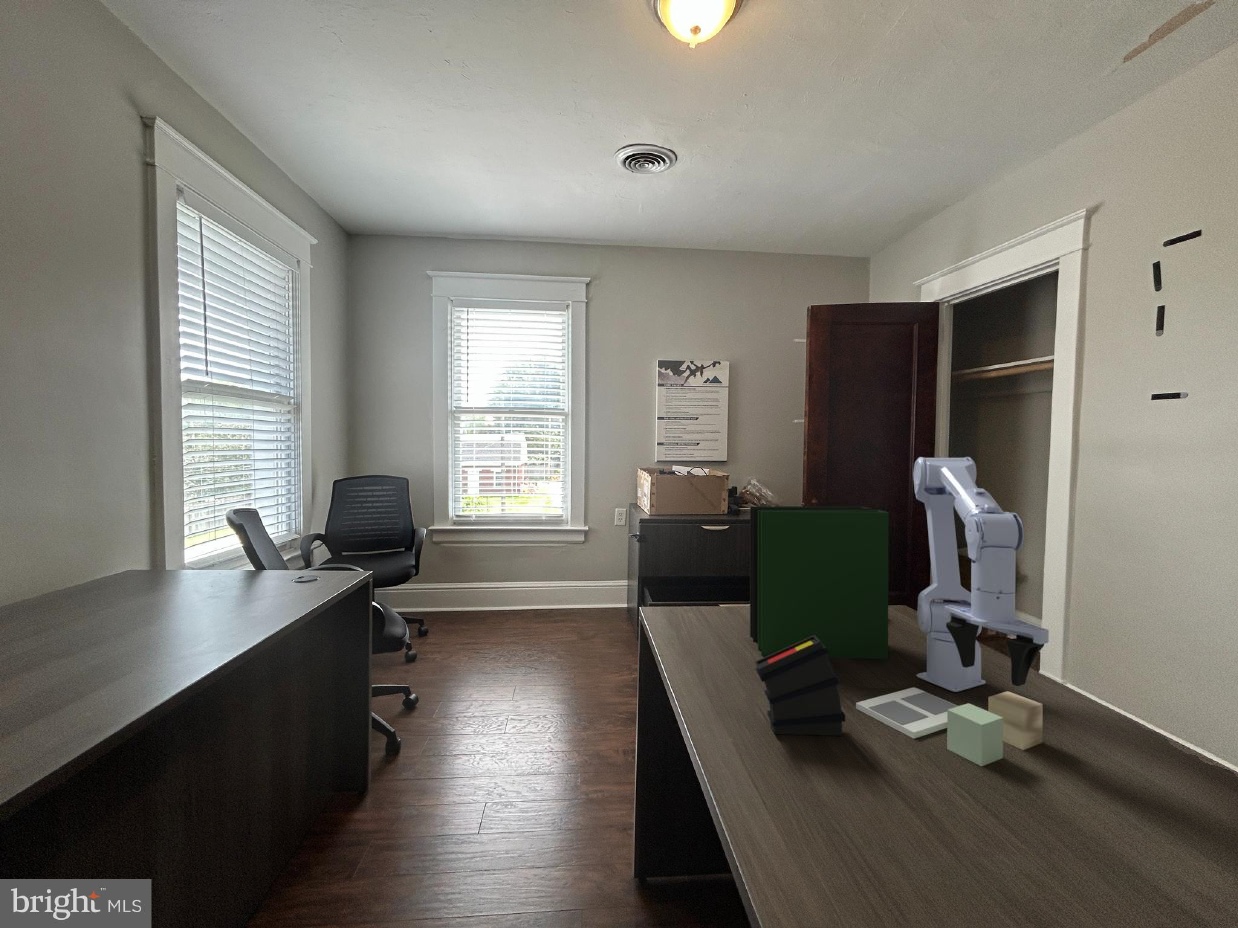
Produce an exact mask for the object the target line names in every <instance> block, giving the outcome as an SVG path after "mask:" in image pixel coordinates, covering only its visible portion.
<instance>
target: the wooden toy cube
mask: <svg viewBox="0 0 1238 928" xmlns="http://www.w3.org/2000/svg"><path fill="white" fill-rule="evenodd" d="M987 699H988V702H987V703H988V706H987V707H988V710H987V711H988V712H991V713H993V714H996V715H998V716H1000V717H1003V743H1007V744H1009V745H1011V746H1014V747H1016V748H1018V749H1020V750H1022V751H1024V750H1027V749H1029V748H1032V747H1034V746H1037V745H1040V744H1042V743H1043V718H1044V717H1043V714H1044V713H1043V706H1044V705H1043V703H1041V702H1038V701H1035V700H1033V699H1030V698H1026V697H1024V696H1022V695H1019V694H1017V693H1014V692H1011V691H1003V692H1001V693H998V694H994V695H991V696H988V698H987Z"/></svg>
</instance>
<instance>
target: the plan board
mask: <svg viewBox="0 0 1238 928" xmlns="http://www.w3.org/2000/svg"><path fill="white" fill-rule="evenodd" d="M958 706H959V705H958V704H957V705H956V704H954V703H953V702H950V701H948V700H945V699H942V698H940V697H939V696H935V695H933V694H931V693H928V692H927V691H924V690H922V689H920V688H917V687H909V688H906V689H902V690H898V691H894V692H891V693H888V694H884V695H880V696H876V697H873V698H868V699H866V700H862V701H859V702H856V703H855V709H856V710H858V711H860V712H862V713H864V714H866V715H867V716H870V717H872V718H873V719H876V720H877V721H879V722H881V723H883V724H885V725H887V726H888V727H891V728H893V729H894V730H896V731H898V732H900V733H902V734H904V735H906V736H908V737H909V738H911V739H917V738H920V737H923V736H926V735H929V734H932V733H935V732H938V731H941V730H944V729H947V710H948V709H951V708H955V707H958Z"/></svg>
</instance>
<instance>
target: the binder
mask: <svg viewBox="0 0 1238 928" xmlns="http://www.w3.org/2000/svg"><path fill="white" fill-rule="evenodd" d="M749 507H750V508H749V511H750V512H749V519H750V520H749V525H750V526H749V530H750V531H749V637H750V638H752V642H754V643H755V642H756V643H757V651H760V656H761V657H763V656H764V657H766V656H768V655H771V654H773V653H775V652H777V651H780V650H782V649H784V648H786V647H788V646H791V645H793V644H795V643H797V642H799V641H802V640H804V639H806V638H808V637H811V636H813V635H815V636H816V637H817V638H818V639H819V640H820V642H821V643H822V644H823V645H824V646H825V647H826V648H827V650H828V653H826V654H827V656H828V658H836V659H837V658H840V659H841V658H842V659H843V658H845V659H883V660H885V659H886V660H887V659H889V544H890V543H889V528H890V525H889V523H890V522H889V519H890V518H889V512H887V511H883V510H879V509H872V508H870V507H866V506H851V505H849V506H848V505H846V506H845V505H844V506H838V505H837V506H828V505H827V506H826V505H824V506H821V505H819V506H813V505H812V506H811V505H810V506H806V505H805V506H800V505H799V506H792V505H791V506H790V505H789V506H788V505H787V506H783V505H782V506H778V505H777V506H775V505H774V506H765V505H764V506H762V505H761V506H759V505H758V506H751V505H750V506H749Z"/></svg>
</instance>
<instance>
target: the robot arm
mask: <svg viewBox="0 0 1238 928" xmlns="http://www.w3.org/2000/svg"><path fill="white" fill-rule="evenodd" d="M912 475H913V486H914V494H915V498H916V500H918V501H919V502H922V503H924V508H925V511H926V520H927V531H928V547H929V557H930V568H931V580H932V583H931V584H930V585H929V586H927V587H926V588H925V589H924V590H922V591H920V593H919V594H918V597H917V610H916V611H917V613H916V614H917V623H918V626H919V628H920V630H921V631H922V632H923V633H924V634H926V671H925V672H924V671H923V672H920V673H917V674H916V677H917V678H918V679H921V680H924V681H926V682H928V683H931V684H933V685H936V686H939V687H941V688H943V689H945V690H948V691H951V692H954V693H957V692H962V691H964V690H969V689H972V688H975V687H978V686H981V685H985V684H987V681H986V680H985V679H982V648H981V645H980V644H979V641H978V640H977V637H978V636H979V635H980V633H981V632H982V630H983V629H982V628H985V629H990V630H993V631H997V632H1000V633H1004V634H1007V635H1010V636H1013V637H1014V638H1009V639H1006V644H1007V647H1008V652H1009V656H1010V662H1011V663H1010V664H1011V671H1010V672H1011V673H1010V674H1011V685H1013V686H1016V687H1020V686H1023V685H1026V683H1027V682H1026V681H1027V678H1028V675H1029V672H1030V668H1031V667H1032V664H1033V663H1034V660H1035V659H1036V657H1037V656H1038V654H1039V653H1040V651H1041V650H1042V649H1043V648H1044V646H1045V644H1048V643H1049V637H1050V636H1049V634H1050V633H1049V629H1047V628H1043V627H1041V626H1037V625H1034V624H1032V623H1029V622H1026V621H1023V620H1021V619H1019V618H1016V573H1017V572H1016V563H1017V561H1016V557H1017V556H1016V555H1017V553H1016V551H1019V550H1020V549H1022V546H1023V544H1024V538H1025V531H1024V526H1023V522H1022V519H1021V518H1020V517H1019V515H1018V514H1017V513H1016V512H1009V511H1003V509H1002V508H1001V507H1000V505H999V504H998V503H997V501H996V500H995V499H994V498H993V496H992V495H991V493H989V492H988V491H987V490H985V488H980V487H979V488H978V486H977V484H976V480H977V465H976V463H975V461H974V460H973V459H972V457H970V456H965V457H924V456H919V457H918V458H917V459H916V460H915V462H914V467H913V474H912ZM954 509H955V511H956V512H957V515H958V516H959V518H960V519H961V521H962V523H964V526H965V527H964V532H965V533H964V535H965V541H966V544H967V555H968V558H969V559H971V564H970V565H971V566H970V567H971V569H970V570H971V573H970V574H971V576H970V577H971V579H970V583H971V585H970V590H971V591H968V590H967V589H966V588H965V587H963V586H962V585H961V574H960V566H959V565H960V563H959V555H958V543H957V535H956V534H957V533H956V524H955V523H956V522H955V514H954V513H955V512H954ZM932 600H940V601H932ZM948 601H950V602H948ZM951 601H954V602H951ZM955 601H956V602H955Z"/></svg>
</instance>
